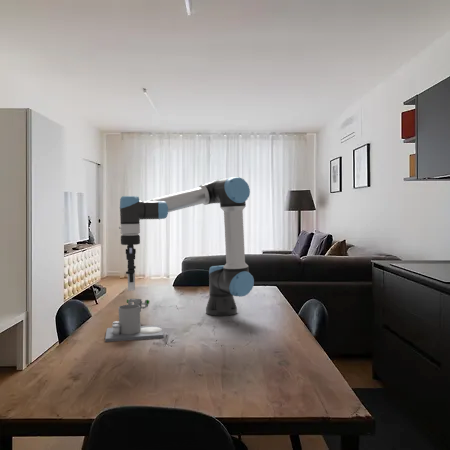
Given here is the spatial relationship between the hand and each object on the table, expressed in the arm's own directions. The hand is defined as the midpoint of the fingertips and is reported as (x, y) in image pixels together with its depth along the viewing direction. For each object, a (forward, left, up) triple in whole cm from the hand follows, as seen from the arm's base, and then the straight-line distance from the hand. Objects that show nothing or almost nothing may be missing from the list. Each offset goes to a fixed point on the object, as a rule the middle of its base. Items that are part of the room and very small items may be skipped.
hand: (131, 287), depth 176 cm
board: (-1, 0, -19) cm, 19 cm away
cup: (+1, 0, -18) cm, 18 cm away
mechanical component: (-3, -21, -19) cm, 28 cm away
